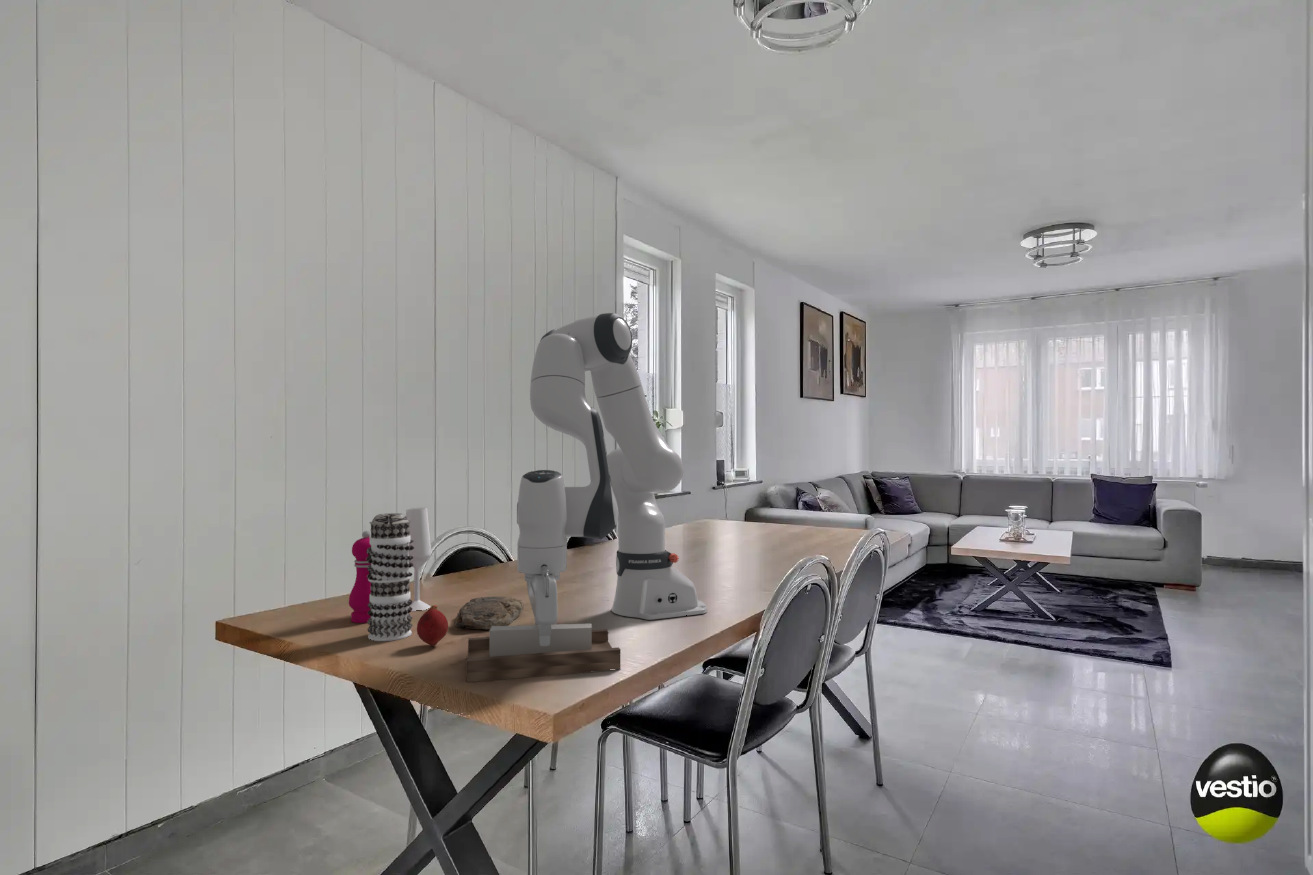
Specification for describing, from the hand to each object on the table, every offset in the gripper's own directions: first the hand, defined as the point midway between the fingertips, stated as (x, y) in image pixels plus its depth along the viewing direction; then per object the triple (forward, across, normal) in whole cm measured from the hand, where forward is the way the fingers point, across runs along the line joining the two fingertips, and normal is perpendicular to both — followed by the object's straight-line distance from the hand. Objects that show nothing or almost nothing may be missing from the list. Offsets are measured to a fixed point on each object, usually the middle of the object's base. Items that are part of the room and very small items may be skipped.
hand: (542, 637), depth 125 cm
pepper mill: (+5, +41, +36) cm, 55 cm away
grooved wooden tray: (+5, 0, 0) cm, 5 cm away
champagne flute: (+5, +50, +26) cm, 57 cm away
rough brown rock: (+5, +34, +10) cm, 35 cm away
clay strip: (+3, 0, 0) cm, 3 cm away
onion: (+5, +16, +20) cm, 26 cm away
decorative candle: (+5, +26, +29) cm, 39 cm away
